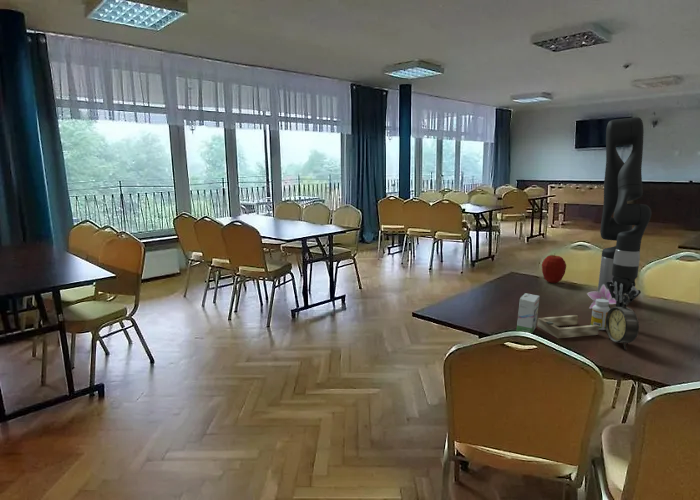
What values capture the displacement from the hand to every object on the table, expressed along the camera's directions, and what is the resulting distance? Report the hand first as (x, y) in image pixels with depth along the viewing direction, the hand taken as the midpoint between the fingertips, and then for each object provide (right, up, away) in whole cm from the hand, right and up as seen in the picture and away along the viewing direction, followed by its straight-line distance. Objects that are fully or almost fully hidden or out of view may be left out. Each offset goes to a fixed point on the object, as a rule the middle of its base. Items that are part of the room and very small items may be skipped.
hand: (619, 312), depth 159 cm
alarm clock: (-8, -8, -15) cm, 19 cm away
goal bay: (-20, -6, -3) cm, 21 cm away
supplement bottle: (-7, -5, -1) cm, 9 cm away
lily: (+3, -2, +18) cm, 18 cm away
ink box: (-33, -6, -3) cm, 34 cm away
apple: (+1, +6, +56) cm, 56 cm away
